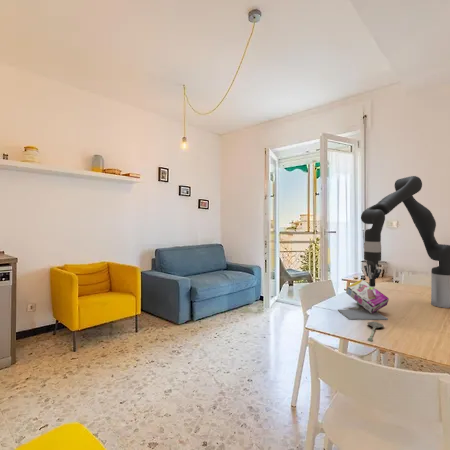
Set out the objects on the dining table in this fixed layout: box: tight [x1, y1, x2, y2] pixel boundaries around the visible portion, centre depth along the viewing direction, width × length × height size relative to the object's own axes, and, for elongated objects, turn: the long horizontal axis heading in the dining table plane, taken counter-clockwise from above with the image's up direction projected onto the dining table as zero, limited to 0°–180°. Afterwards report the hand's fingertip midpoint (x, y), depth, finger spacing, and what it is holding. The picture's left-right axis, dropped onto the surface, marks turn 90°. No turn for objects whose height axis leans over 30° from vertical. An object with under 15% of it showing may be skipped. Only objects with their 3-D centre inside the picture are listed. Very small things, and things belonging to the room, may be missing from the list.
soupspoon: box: [367, 321, 384, 342], centre depth 120 cm, size 22×3×7 cm
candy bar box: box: [345, 278, 390, 314], centre depth 149 cm, size 11×5×16 cm
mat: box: [337, 309, 389, 321], centre depth 142 cm, size 18×14×1 cm
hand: (372, 286), depth 142 cm, fingers closed
